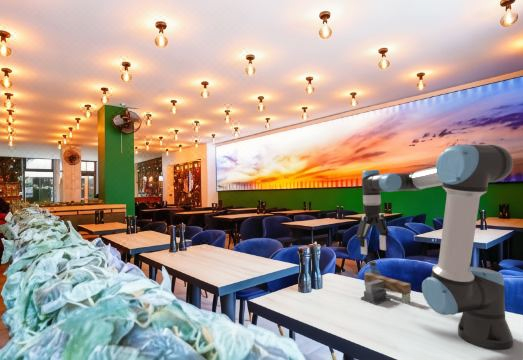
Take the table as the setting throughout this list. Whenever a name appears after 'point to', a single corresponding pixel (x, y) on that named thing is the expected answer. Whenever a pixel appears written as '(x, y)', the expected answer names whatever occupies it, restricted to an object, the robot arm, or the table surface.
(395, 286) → the batten
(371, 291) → the fulcrum
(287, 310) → the table surface
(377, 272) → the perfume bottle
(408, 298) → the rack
